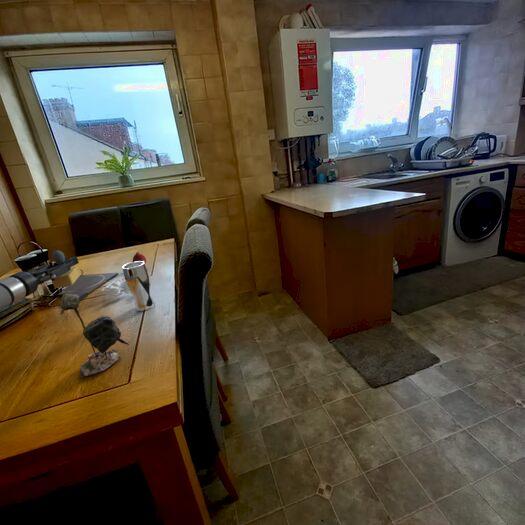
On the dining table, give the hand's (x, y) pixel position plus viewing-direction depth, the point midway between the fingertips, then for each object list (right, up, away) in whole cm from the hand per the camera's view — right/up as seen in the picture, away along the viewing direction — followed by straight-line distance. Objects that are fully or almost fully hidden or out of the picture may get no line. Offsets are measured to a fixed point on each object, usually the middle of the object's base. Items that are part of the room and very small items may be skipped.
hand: (72, 260), depth 105 cm
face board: (-5, -10, +13) cm, 17 cm away
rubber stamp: (0, -8, -3) cm, 9 cm away
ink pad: (+1, -15, 0) cm, 15 cm away
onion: (+15, -4, +26) cm, 30 cm away
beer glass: (+33, -16, -12) cm, 39 cm away
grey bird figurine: (+34, -25, -38) cm, 57 cm away
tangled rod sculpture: (+18, -11, +5) cm, 21 cm away
